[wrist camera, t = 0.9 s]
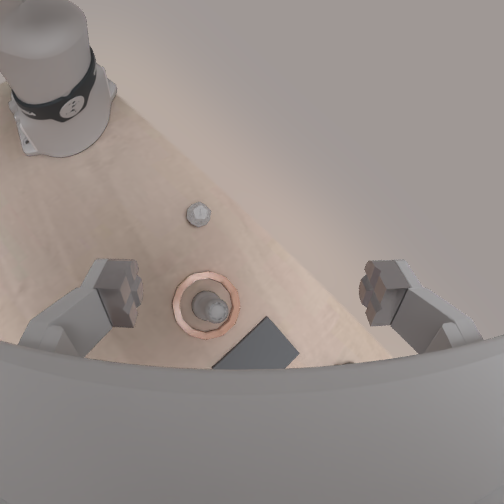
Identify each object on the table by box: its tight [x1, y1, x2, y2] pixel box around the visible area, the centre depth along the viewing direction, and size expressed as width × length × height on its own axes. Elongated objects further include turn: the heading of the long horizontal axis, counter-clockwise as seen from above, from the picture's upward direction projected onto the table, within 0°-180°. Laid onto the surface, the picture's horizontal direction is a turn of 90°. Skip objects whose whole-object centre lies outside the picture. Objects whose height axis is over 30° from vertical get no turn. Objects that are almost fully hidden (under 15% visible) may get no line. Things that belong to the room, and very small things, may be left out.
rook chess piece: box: [192, 291, 228, 323], centre depth 41 cm, size 4×4×8 cm
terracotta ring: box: [172, 271, 240, 340], centre depth 44 cm, size 10×10×1 cm
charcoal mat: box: [212, 316, 299, 370], centre depth 47 cm, size 9×12×1 cm
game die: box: [187, 202, 211, 227], centre depth 44 cm, size 4×4×3 cm
